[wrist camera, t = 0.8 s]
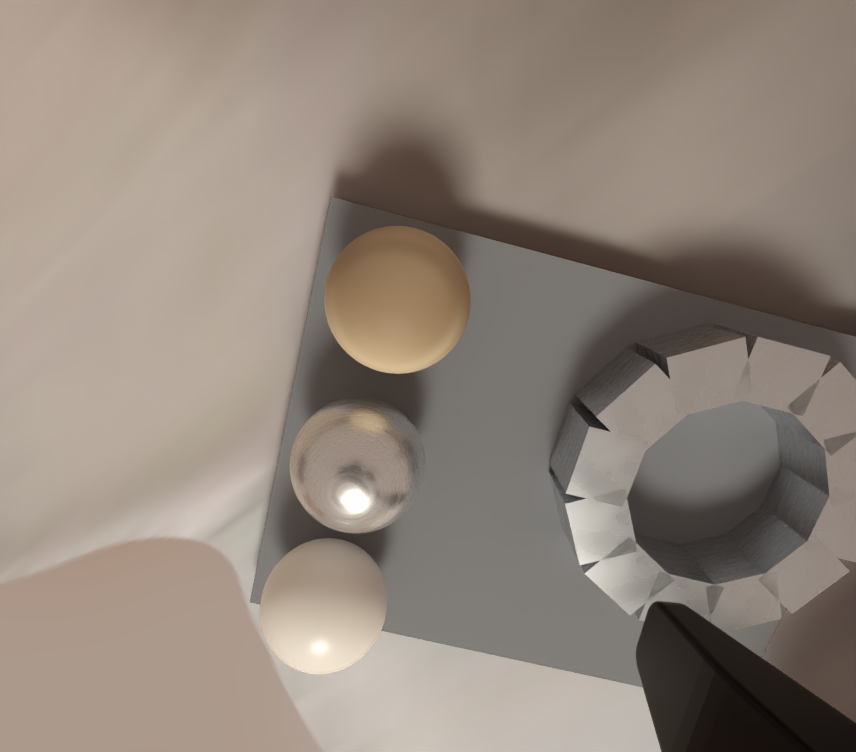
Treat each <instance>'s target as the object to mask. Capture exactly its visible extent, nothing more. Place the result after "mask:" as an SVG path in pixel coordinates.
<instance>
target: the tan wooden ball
mask: <svg viewBox="0 0 856 752" xmlns="http://www.w3.org/2000/svg"><path fill="white" fill-rule="evenodd" d="M324 305H325V313H326V317H327V321H328V324H329V327H330V329H331V332H332V333H333V335H334V337H335V339H336V340H337V342H338V343H339V344H340V346H341V347H342V348H343V349H344V350H345V351H346V352H347V353H348V354H349V355H350V356H351V357H352V358H354V359H355V360H356V361H358V362H359V363H361V364H363V365H365V366H367V367H369V368H371V369H374V370H377V371H380V372H386V373H395V374H402V373H410V372H415V371H419V370H422V369H425V368H427V367H429V366H431V365H433V364H435V363H436V362H438V361H439V360H441V359H442V358H443V357H445V356H446V355H447V354H448V353H449V352H450V351H451V350H452V349H453V348H454V347H455V345H456V344H457V342H458V341H459V340H460V338H461V336H462V334H463V332H464V330H465V328H466V325H467V322H468V318H469V314H470V305H471V297H470V288H469V282H468V279H467V276H466V273H465V270H464V268H463V266H462V264H461V262H460V261H459V259H458V258H457V256H456V255H455V254H454V253H453V251H452V250H451V249H450V248H449V247H448V246H447V245H446V244H445V243H443V242H442V241H441V240H439V239H438V238H436V237H435V236H433V235H431V234H429V233H427V232H425V231H423V230H420V229H417V228H412V227H407V226H386V227H382V228H377V229H374V230H372V231H369V232H367V233H365V234H363V235H361V236H359V237H358V238H356V239H355V240H353V241H352V242H351V243H349V244H348V245H347V246H346V247H345V248H344V249H343V250H342V252H341V253H340V254H339V255H338V257H337V258H336V260H335V262H334V263H333V265H332V267H331V269H330V272H329V274H328V277H327V281H326V285H325V293H324Z"/></svg>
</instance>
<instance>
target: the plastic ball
mask: <svg viewBox="0 0 856 752" xmlns="http://www.w3.org/2000/svg"><path fill="white" fill-rule="evenodd" d="M386 612H387V590H386V585H385V581H384V578H383V576H382V573H381V571H380V569H379V567H378V566H377V564H376V562H375V561H374V560H373V559H372V558H371V556H370V555H369V554H368V553H367V552H366V551H364V550H363V549H362V548H360V547H359V546H357V545H355V544H353V543H351V542H348V541H345V540H341V539H335V538H321V539H315V540H312V541H309V542H306V543H303V544H301V545H299V546H297V547H296V548H294V549H293V550H291V551H290V552H288V553H287V554H286V555H285V556H284V557H283V558H282V559H281V560H280V561H279V562H278V563H277V564H276V566H275V567H274V569H273V570H272V572H271V573H270V575H269V577H268V579H267V581H266V583H265V586H264V589H263V593H262V597H261V604H260V620H261V625H262V630H263V633H264V636H265V638H266V640H267V642H268V644H269V646H270V648H271V649H272V651H273V652H274V653H275V654H276V655H277V657H278V658H280V659H281V660H282V661H283V662H284V663H286V664H287V665H289V666H290V667H292V668H294V669H296V670H299V671H301V672H305V673H310V674H327V673H333V672H336V671H340V670H342V669H345V668H347V667H348V666H350V665H352V664H354V663H355V662H357V661H358V660H359V659H361V658H362V657H363V656H364V655H365V654H366V653H367V652H368V651H369V650H370V648H371V647H372V646H373V644H374V643H375V641H376V640H377V638H378V636H379V634H380V632H381V630H382V627H383V624H384V621H385V617H386Z"/></svg>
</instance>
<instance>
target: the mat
mask: <svg viewBox="0 0 856 752" xmlns="http://www.w3.org/2000/svg"><path fill="white" fill-rule="evenodd" d="M386 226H407V227H412V228H417V229H420V230H423V231H425V232H427V233H429V234H431V235H433V236H435V237H436V238H438V239H439V240H441V241H442V242H443V243H445V244H446V245H447V246H448V247H449V248H450V249H451V250H452V251H453V253H454V254H455V255H456V256H457V258H458V259H459V261H460V262H461V264H462V266H463V268H464V270H465V273H466V276H467V279H468V282H469V288H470V297H471V305H470V314H469V318H468V322H467V325H466V328H465V330H464V332H463V334H462V336H461V338H460V340H459V341H458V342H457V344H456V345H455V347H454V348H453V349H452V350H451V351H450V352H449V353H448V354H447V355H446V356H445V357H443V358H442V359H441V360H439V361H438V362H436V363H435V364H433V365H431V366H429V367H427V368H425V369H422V370H419V371H415V372H410V373H402V374H395V373H386V372H380V371H377V370H374V369H371V368H369V367H367V366H365V365H363V364H361V363H359V362H358V361H356V360H355V359H354V358H352V357H351V356H350V355H349V354H348V353H347V352H346V351H345V350H344V349H343V348H342V347H341V346H340V344H339V343H338V342H337V340H336V339H335V337H334V335H333V333H332V332H331V329H330V327H329V324H328V321H327V317H326V313H325V305H324V293H325V285H326V281H327V277H328V274H329V272H330V269H331V267H332V265H333V263H334V262H335V260H336V258H337V257H338V255H339V254H340V253H341V252H342V250H343V249H344V248H345V247H346V246H347V245H348V244H349V243H351V242H352V241H353V240H355V239H356V238H358V237H359V236H361V235H363V234H365V233H367V232H369V231H372V230H374V229H377V228H382V227H386ZM701 324H706V325H709V326H712V327H714V324H718V325H721V326H725V327H729V328H733V329H737V330H740V331H744V332H748V333H752V334H756V335H759V336H763V337H767V338H771V339H774V340H778V341H782V342H785V343H788V344H792V345H795V346H799V347H802V348H805V349H809V350H812V351H816V352H819V353H822V354H826V355H829V356H831V357H830V359H832V360H836V361H839V362H841V363H842V364H843V366H844V367H845V368H846V369H847V370H848V371H849V373H850V374H851V375H852V376H853V377H854V379H855V380H856V337H855V336H851V335H847V334H844V333H840V332H836V331H833V330H829V329H825V328H821V327H818V326H814V325H810V324H806V323H803V322H799V321H795V320H791V319H788V318H784V317H780V316H776V315H773V314H769V313H765V312H761V311H758V310H754V309H750V308H746V307H743V306H739V305H735V304H731V303H728V302H724V301H720V300H716V299H713V298H709V297H705V296H701V295H698V294H694V293H690V292H687V291H683V290H679V289H675V288H672V287H668V286H664V285H660V284H657V283H653V282H649V281H645V280H642V279H638V278H634V277H630V276H627V275H623V274H619V273H615V272H612V271H608V270H604V269H600V268H597V267H593V266H589V265H585V264H582V263H578V262H574V261H570V260H567V259H563V258H559V257H556V256H552V255H548V254H544V253H541V252H537V251H533V250H529V249H526V248H522V247H518V246H514V245H511V244H507V243H503V242H499V241H496V240H492V239H488V238H484V237H481V236H477V235H473V234H469V233H466V232H462V231H458V230H454V229H451V228H447V227H443V226H439V225H436V224H432V223H428V222H424V221H421V220H417V219H413V218H410V217H406V216H402V215H398V214H395V213H391V212H387V211H383V210H380V209H376V208H372V207H368V206H365V205H361V204H357V203H353V202H350V201H346V200H342V199H338V198H335V197H331V198H330V203H329V208H328V213H327V218H326V223H325V228H324V233H323V238H322V243H321V248H320V253H319V258H318V263H317V268H316V273H315V278H314V283H313V288H312V293H311V298H310V303H309V308H308V313H307V318H306V323H305V328H304V333H303V338H302V343H301V348H300V353H299V358H298V363H297V368H296V373H295V378H294V383H293V388H292V393H291V398H290V403H289V408H288V413H287V418H286V423H285V428H284V433H283V438H282V443H281V448H280V453H279V458H278V463H277V468H276V473H275V478H274V483H273V488H272V494H271V499H270V504H269V509H268V514H267V519H266V524H265V529H264V534H263V539H262V544H261V549H260V554H259V559H258V564H257V569H256V574H255V579H254V584H253V589H252V594H251V599H250V602H251V603H256V604H261V597H262V593H263V589H264V586H265V583H266V581H267V579H268V577H269V575H270V573H271V572H272V570H273V569H274V567H275V566H276V564H277V563H278V562H279V561H280V560H281V559H282V558H283V557H284V556H285V555H286V554H287V553H288V552H290V551H291V550H293V549H294V548H296V547H297V546H299V545H301V544H303V543H306V542H309V541H312V540H315V539H321V538H335V539H341V540H345V541H348V542H351V543H353V544H355V545H357V546H359V547H360V548H362V549H363V550H364V551H366V552H367V553H368V554H369V555H370V556H371V558H372V559H373V560H374V561H375V562H376V564H377V566H378V567H379V569H380V571H381V573H382V576H383V578H384V581H385V585H386V590H387V612H386V617H385V621H384V624H383V627H382V630H381V631H385V632H390V633H395V634H399V635H404V636H409V637H413V638H418V639H422V640H427V641H432V642H436V643H441V644H446V645H450V646H455V647H459V648H464V649H469V650H473V651H478V652H483V653H487V654H492V655H496V656H501V657H506V658H510V659H515V660H520V661H524V662H529V663H533V664H538V665H543V666H547V667H552V668H557V669H561V670H566V671H570V672H575V673H580V674H584V675H589V676H594V677H598V678H603V679H607V680H612V681H617V682H621V683H626V684H631V685H635V686H640V687H643V686H642V682H641V679H640V675H639V672H638V668H637V664H636V647H637V643H638V640H639V637H640V634H641V631H642V627H643V624H644V621H641V620H638V618H637V616H636V614H635V612H634V613H633V614H631V615H629V614H628V613H627V612H626V611H624V610H623V609H622V608H621V607H620V606H619V605H618V604H617V603H616V602H615V601H614V600H613V599H611V598H610V597H609V596H608V595H607V594H606V593H605V592H604V591H603V590H602V589H601V588H600V587H598V586H597V585H596V584H595V583H594V582H593V581H592V580H591V579H590V578H589V577H588V576H587V575H585V574H584V571H583V569H582V567H581V565H579V563H578V561H577V559H576V556H575V554H574V552H573V550H572V548H571V546H570V543H569V541H568V539H567V537H566V535H565V533H564V530H563V528H562V526H561V521H560V517H559V513H558V509H557V505H556V501H555V496H554V492H553V488H552V484H551V480H550V476H549V472H548V471H552V470H553V469H552V467H551V465H550V463H549V460H550V458H551V455H552V452H553V449H554V446H555V443H556V440H557V437H558V434H559V431H560V428H561V425H562V422H563V419H564V416H565V413H566V410H567V407H568V405H569V403H573V404H577V405H581V406H585V407H586V405H585V404H584V403H583V402H582V401H581V400H580V399H579V398H578V397H577V396H576V395H575V393H577V392H578V391H579V390H580V389H581V388H582V387H583V386H584V385H585V384H586V383H587V382H589V381H590V380H591V379H592V378H593V377H594V376H595V375H596V374H597V373H598V372H600V371H601V370H602V369H603V368H604V367H605V366H606V365H607V364H608V363H609V362H610V361H612V360H613V359H614V358H615V357H616V356H617V355H618V354H619V353H620V352H621V351H623V350H624V349H625V348H628V349H630V350H632V351H633V352H635V353H637V354H638V352H637V347H636V342H638V341H641V340H645V339H649V338H653V337H656V336H660V335H664V334H668V333H671V332H675V331H679V330H683V329H686V328H690V327H694V326H698V325H701ZM349 397H368V398H374V399H377V400H381V401H384V402H386V403H388V404H390V405H392V406H394V407H395V408H397V409H398V410H400V411H401V412H402V413H403V414H404V415H405V416H406V417H407V418H408V419H409V420H410V421H411V422H412V424H413V425H414V427H415V428H416V430H417V432H418V434H419V436H420V438H421V441H422V443H423V447H424V452H425V461H426V467H425V475H424V480H423V484H422V487H421V490H420V492H419V494H418V496H417V498H416V500H415V501H414V503H413V504H412V506H411V507H410V508H409V509H408V510H407V511H406V512H405V514H404V515H403V516H401V517H400V518H399V519H398V520H396V521H395V522H393V523H392V524H390V525H388V526H386V527H384V528H382V529H379V530H376V531H373V532H368V533H358V534H355V533H345V532H340V531H337V530H333V529H331V528H329V527H326V526H324V525H323V524H321V523H319V522H318V521H317V520H315V519H314V518H313V517H312V516H311V515H310V514H309V513H308V512H307V511H306V510H305V509H304V508H303V506H302V505H301V503H300V502H299V500H298V498H297V496H296V494H295V492H294V489H293V486H292V482H291V477H290V457H291V451H292V447H293V444H294V442H295V439H296V437H297V435H298V433H299V431H300V430H301V428H302V426H303V425H304V424H305V423H306V421H307V420H308V419H309V418H310V417H311V416H312V415H313V414H314V413H315V412H317V411H318V410H320V409H321V408H322V407H324V406H326V405H328V404H330V403H332V402H334V401H337V400H340V399H344V398H349ZM779 467H780V457H779V449H778V440H777V432H776V424H775V422H774V421H773V420H772V418H771V417H770V416H769V415H768V414H767V413H766V412H765V411H764V410H763V409H762V407H761V406H760V405H757V404H753V403H750V402H746V401H739V402H735V403H731V404H727V405H723V406H719V407H716V408H712V409H708V410H704V411H700V412H696V413H692V414H688V415H687V416H685V417H684V418H683V419H682V420H681V421H680V422H678V423H677V424H676V425H675V426H674V427H673V428H671V429H670V430H669V431H668V432H667V433H666V434H664V435H663V436H662V437H661V438H660V439H659V440H657V441H656V442H655V443H654V444H653V445H652V446H651V447H649V448H648V449H647V450H646V451H645V453H644V456H643V458H642V461H641V463H640V466H639V469H638V471H637V474H636V476H635V479H634V481H633V484H632V487H631V489H630V492H629V494H628V497H627V500H628V505H629V510H630V515H631V520H632V525H633V528H634V529H635V530H636V531H637V532H638V533H639V534H641V535H645V536H650V537H654V538H658V539H662V540H667V541H671V542H675V543H679V544H684V543H688V542H692V541H696V540H701V539H705V538H709V537H713V536H717V535H722V534H726V533H727V532H728V531H730V530H731V529H732V528H733V527H735V526H736V525H737V524H738V523H740V522H741V521H742V520H743V519H745V518H746V517H747V516H748V515H750V514H751V513H752V512H753V511H755V510H756V509H757V508H759V507H760V506H761V505H762V503H763V501H764V499H765V497H766V495H767V493H768V490H769V488H770V486H771V484H772V482H773V480H774V477H775V475H776V473H777V471H778V469H779ZM780 608H781V616H782V615H783V613H784V611H785V609H786V608H785V607H784V606H783V605H782V604H781V603H780ZM779 621H780V619H779V620H774V621H770V622H766V623H761V624H757V625H752V626H748V627H743V628H739V629H735V630H730V631H726V632H725V633H727V634H728V635H729V636H731V637H732V638H734V639H735V640H737V641H738V642H740V643H741V644H742V645H744V646H745V647H747V648H748V649H750V650H751V651H752V652H754V653H755V654H757V655H758V656H760V657H762V655H763V653H764V651H765V649H766V647H767V645H768V643H769V641H770V639H771V637H772V635H773V633H774V631H775V629H776V627H777V625H778V623H779Z"/></svg>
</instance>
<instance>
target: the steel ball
mask: <svg viewBox="0 0 856 752" xmlns="http://www.w3.org/2000/svg"><path fill="white" fill-rule="evenodd" d="M425 467H426V461H425V452H424V447H423V443H422V441H421V438H420V436H419V434H418V432H417V430H416V428H415V427H414V425H413V424H412V422H411V421H410V420H409V419H408V418H407V417H406V416H405V415H404V414H403V413H402V412H401V411H400V410H398V409H397V408H395V407H394V406H392V405H390V404H388V403H386V402H384V401H381V400H377V399H374V398H368V397H349V398H344V399H340V400H337V401H334V402H332V403H330V404H328V405H326V406H324V407H322V408H321V409H320V410H318V411H317V412H315V413H314V414H313V415H312V416H311V417H310V418H309V419H308V420H307V421H306V423H305V424H304V425H303V426H302V428H301V430H300V431H299V433H298V435H297V437H296V439H295V442H294V444H293V447H292V451H291V457H290V477H291V482H292V486H293V489H294V492H295V494H296V496H297V498H298V500H299V502H300V503H301V505H302V506H303V508H304V509H305V510H306V511H307V512H308V513H309V514H310V515H311V516H312V517H313V518H314V519H315V520H317V521H318V522H319V523H321V524H323V525H324V526H326V527H329V528H331V529H333V530H337V531H340V532H345V533H355V534H358V533H368V532H373V531H376V530H379V529H382V528H384V527H386V526H388V525H390V524H392V523H393V522H395V521H396V520H398V519H399V518H400V517H401V516H403V515H404V514H405V512H406V511H407V510H408V509H409V508H410V507H411V506H412V504H413V503H414V501H415V500H416V498H417V496H418V494H419V492H420V490H421V487H422V484H423V480H424V475H425Z"/></svg>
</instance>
